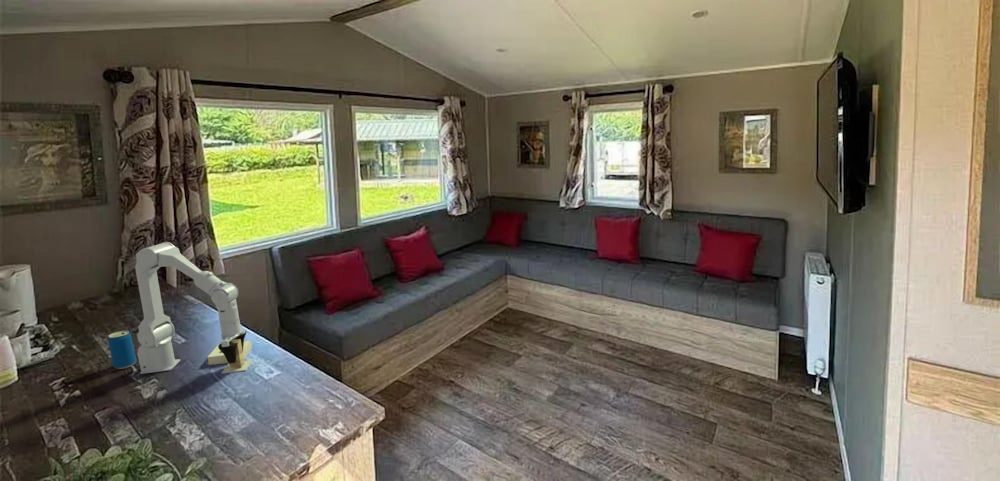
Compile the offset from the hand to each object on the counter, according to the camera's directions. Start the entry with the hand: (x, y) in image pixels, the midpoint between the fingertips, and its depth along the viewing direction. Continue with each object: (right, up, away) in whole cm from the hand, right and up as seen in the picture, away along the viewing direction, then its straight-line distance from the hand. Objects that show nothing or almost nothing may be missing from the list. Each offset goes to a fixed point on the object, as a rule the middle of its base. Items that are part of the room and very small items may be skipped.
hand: (235, 357), depth 165 cm
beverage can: (-42, -4, +5) cm, 42 cm away
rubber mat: (0, -3, +1) cm, 3 cm away
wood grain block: (0, -3, +1) cm, 3 cm away
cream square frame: (-7, -2, +9) cm, 12 cm away
